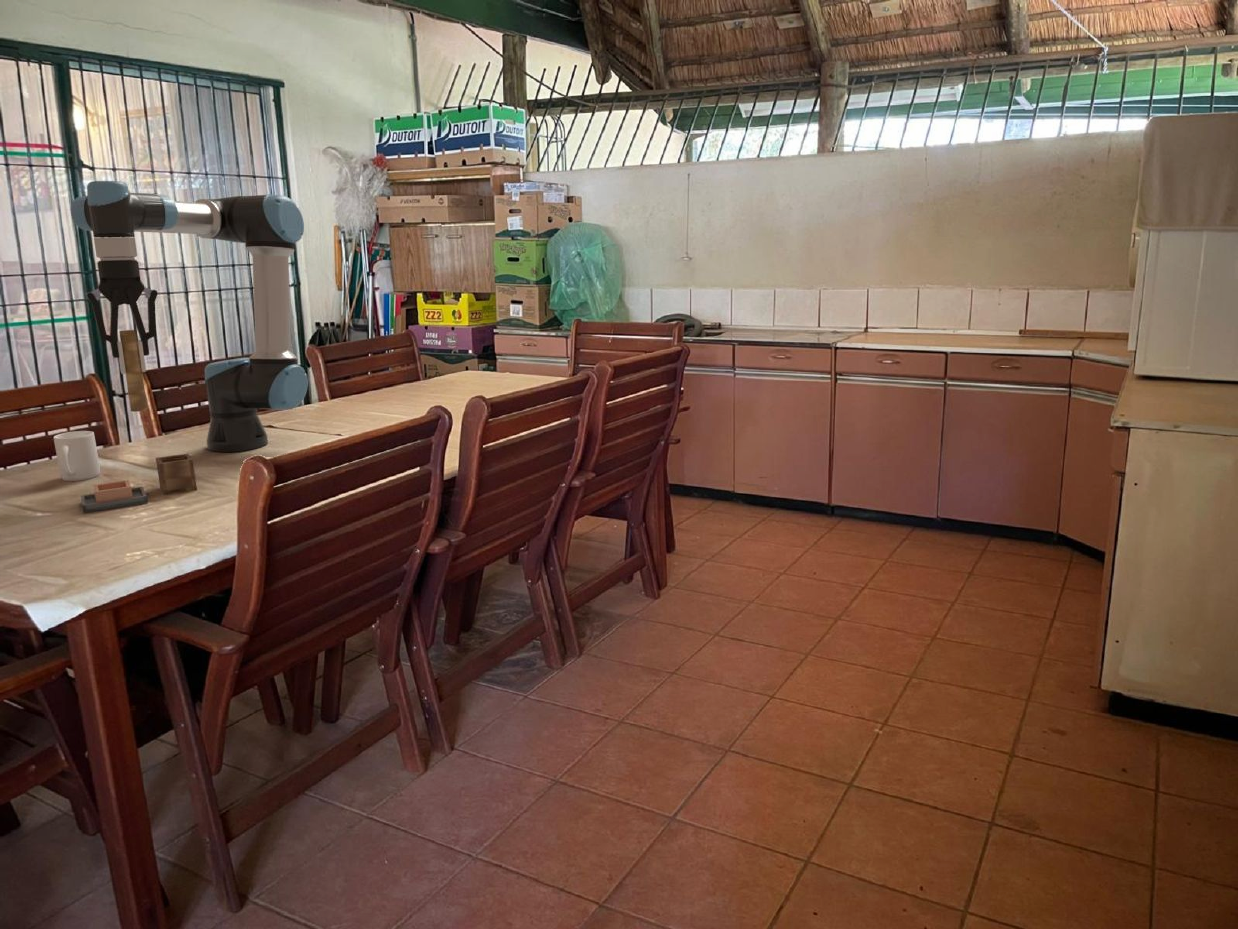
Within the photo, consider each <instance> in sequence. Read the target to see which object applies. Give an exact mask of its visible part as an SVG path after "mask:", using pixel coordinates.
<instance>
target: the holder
mask: <svg viewBox="0 0 1238 929" xmlns="http://www.w3.org/2000/svg"><path fill="white" fill-rule="evenodd" d="M92 487H93V492H94V493H93V494H95V499H96V503H100V502H106V501H113V500H119V499H126V498H133V495H132V489H131V488H132V486H131V483H130V480H129V479H126V480H118V481H112V482H104V483H97V484H93V485H92Z"/></svg>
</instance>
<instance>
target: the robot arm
mask: <svg viewBox="0 0 1238 929" xmlns="http://www.w3.org/2000/svg"><path fill="white" fill-rule="evenodd" d="M86 191H87V192H86V193H87V194H86V195H82V196H81V195H80V196H78V197H76V198H75V199H74V200H73V201H72V202H71V205H70V214H71V219H72V222H73V223H74V225H76V226H77V227H78V228H79V229H80V230H82V231H87V232H92V233H93V241H94V243H93V244H94V247H95V248H94V249H95V256H96V258H99V259H100V260H98V261H97V262H96V263H97V270H98V271H97V272H98V278H99V284H98V286H97V288H96V289H94V290H92V291H88V292H86V293H85V296H86V297H87V299H88V300H89V302H90V303H91V306H92V310H93V311H92V312H93V314H94V319H95V321H96V322H95V323H96V327H97V332H98V336H99V338H100V340H102V341H106V342H109V343H110V348H111V355H112V357H113V358H114V359H115V358H116V359H117V358H118V362H119V369H120V373H121V374H122V375H123V374H124V375H126V370H125V363H124V356H123V349H122V342H121V341H118V332H119V331H118V329H119V328H118V327H119V309H120V308H119V306H121V305H129V308H130V311H131V314H132V316H133V320H134V324H135V326H136V329H137V330H136V331H137V332H138V333H137V334H138V335H139V338H140V340H139V339H138V348H139V355H140V362H141V369H142V373H147V368H146V362H145V361H146V360H145V356H149V355H150V350H149V349H150V348H149V340H150V339H152V338H155V337H157V319H156V318H157V317H156V300H157V298H158V294H159V293H158V291H157V290H155V289H152V288H148V287H146V286H145V284H144V283H143V282H142V278H141V271H140V264H139V261H138V260H137V259H136V258H137V257H138V250H137V244H136V237H135V236H136V235H135V232H136V233H164V234H187V235H188V234H189V235H191V234H192V235H196V236H198V237H200V238H201V239H211V240H219V241H225V242H232V243H240V244H245V249H246V250H247V251H248V253H250V255H252V280H253V309H254V310H253V311H254V312H253V314H254V315H253V316H254V341H255V342H254V343H255V346H254V347H255V350H254V352H252V354H251V355H250V356H249V357H239V358H234V359H227V360H221V361H216V362H211V363H208V364H207V365H206V366H205V368H204V384H205V389H206V396H207V401H208V402H207V403H208V409H209V415H210V423H209V427H208V432H207V435H206V436H207V437H206V446H207V447H206V449H207V450H209V451H210V452H211V451H212V452H217V453H229V452H231V453H232V452H233V453H234V452H241V451H242V452H243V451H249V450H254V449H258V448H262V447H265V446H266V445H268V443H269V442H268V441H269V440H268V434H267V432H266V430H265V428H264V426H263V423H262V422H261V419H260V417H259V415H258V409H259V410H274V411H283V410H284V411H285V410H286V411H289V410H292V409H296V408H297V407H298V406H299V405H300V404H301V403H302V401H303V400H304V399H305V397H306V394H307V392H308V385H309V384H308V383H309V381H308V380H309V379H308V375H307V373H306V370H305V369H304V368H303V367H302V366H300V365H299V364H298V358H297V356H296V355H295V354H294V353H293V352H292V347H291V346H292V345H291V341H292V340H291V308H290V307H291V306H290V305H291V304H290V300H291V299H290V273H289V272H290V271H289V270H290V269H289V268H290V267H289V265H290V264H289V263H290V262H289V257H290V256H291V255H292V254H293V253H294V252H295V243H297V242H299V241H300V240H301V239H302V236H303V234H304V233H305V223H304V219H303V215H302V213H301V210H300V208H299V207H298V206H297V204H296V202H295V201H294V200H292V199H291V198H290V197H288V196H286V195H282V194H281V195H279V194H260V195H257V194H256V195H237V196H235V195H234V196H229V197H227V196H226V197H220V198H212V199H209V198H207V199H206V198H200V199H197V200H195V201H194V202H193V201H179V200H174V199H173V198H171V197H170V196H169V195H167V194H159V193H157V192H155V193H148V192H147V193H144V192H143V193H142V192H130V190H129V187H128V184H127V182H125V181H120V180H118V181H117V180H94V181H90V182H89V183H88V184H87V187H86ZM142 293H144V297H145V298H146V299H147V321H148V322H147V323H148V332H147V331H146V329H145V325H144V322H143V320H142V316H141V313H140V309H139V306H138V300H139V299H140V297H141V296H142ZM101 294H102V295H103V296H104V298H105V299H106V300H108V302H109V303H110V320H109V321H110V322H109V323H110V324H109V334H107V331H106V328H105V322H104V319H103V315H102V311H101V306H100V303H99V301H100V300H101V297H100V295H101Z"/></svg>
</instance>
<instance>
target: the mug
mask: <svg viewBox="0 0 1238 929" xmlns="http://www.w3.org/2000/svg"><path fill="white" fill-rule="evenodd" d="M95 437H96V436H95V432H94V431H90V430H78V431H75V430H74V431H68V432H62V433H59V434H57V435H54V436H53V442H54V443H53V444H54V448H55V453H56V458H57V464H58V469H59V471H58V472H59V474H60V478H61V480H63V481H66V482H78V481H85V480H91V479H94V478H96V477H98V476H100V474H101V468H100V467H101V466H100V460H99V454H98V451H97V450H98V448H97V442H96V438H95Z"/></svg>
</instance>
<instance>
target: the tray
mask: <svg viewBox="0 0 1238 929" xmlns="http://www.w3.org/2000/svg"><path fill="white" fill-rule="evenodd" d="M131 489H132V495H133V498H126V499H119V500H113V501H106V502H100V503H96V499H95V494H94V493H89V494H82V495H80V499H81V505H82V511H83V514H88V513H94V512H101V511H107V510H113V509H119V508H125V507H132V506H133V507H134V506H140V505H145V504H146V505H147V504H148V503H149V502H148V495H147V493H146V490H145V488H144V487H143V486H136V487H131Z"/></svg>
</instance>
